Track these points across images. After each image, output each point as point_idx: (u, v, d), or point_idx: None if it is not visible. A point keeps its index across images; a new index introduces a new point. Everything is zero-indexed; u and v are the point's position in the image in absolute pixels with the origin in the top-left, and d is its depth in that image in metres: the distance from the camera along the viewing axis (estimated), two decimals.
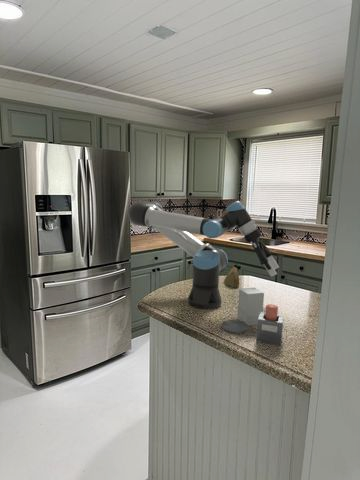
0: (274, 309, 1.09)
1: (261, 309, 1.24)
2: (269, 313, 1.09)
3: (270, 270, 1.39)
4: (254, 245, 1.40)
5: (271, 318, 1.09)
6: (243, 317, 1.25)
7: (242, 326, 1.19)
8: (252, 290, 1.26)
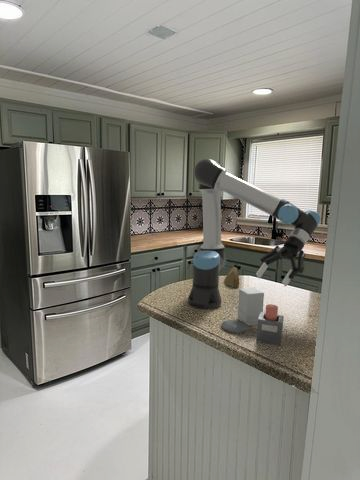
0: (274, 309, 1.09)
1: (261, 309, 1.24)
2: (269, 313, 1.09)
3: (288, 278, 1.26)
4: (303, 254, 1.30)
5: (271, 318, 1.09)
6: (243, 317, 1.25)
7: (242, 326, 1.19)
8: (252, 290, 1.26)
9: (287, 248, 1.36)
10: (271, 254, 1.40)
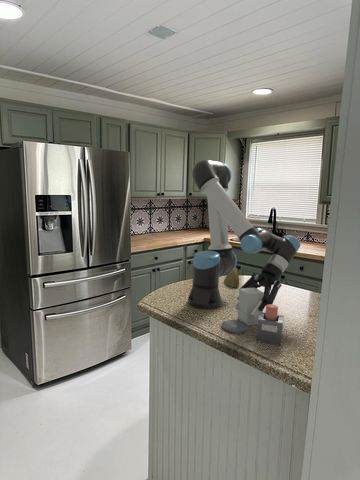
0: (274, 309, 1.09)
1: None
2: (269, 313, 1.09)
3: (257, 310, 1.22)
4: (279, 284, 1.24)
5: (271, 318, 1.09)
6: (243, 317, 1.25)
7: (242, 326, 1.19)
8: (252, 289, 1.26)
9: (265, 274, 1.30)
10: (249, 283, 1.33)
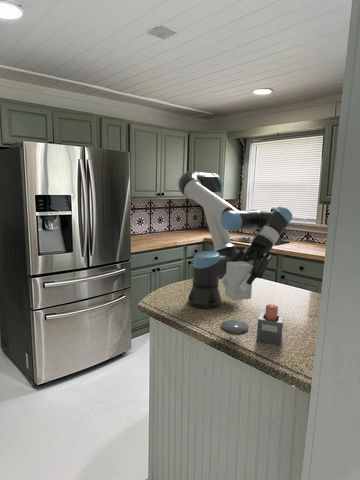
0: (274, 309, 1.09)
1: None
2: (269, 313, 1.09)
3: (245, 284, 1.13)
4: (269, 256, 1.15)
5: (271, 318, 1.09)
6: (231, 292, 1.16)
7: (242, 326, 1.19)
8: (240, 263, 1.18)
9: (254, 247, 1.22)
10: (238, 257, 1.24)
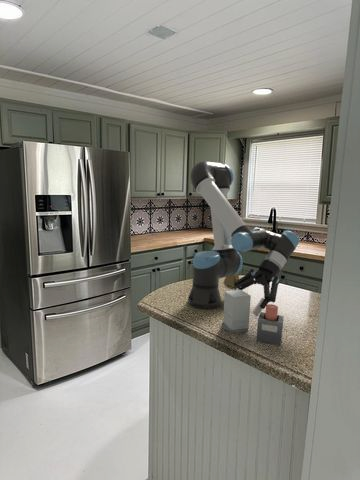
0: (274, 309, 1.09)
1: (248, 313, 1.17)
2: (269, 313, 1.09)
3: (259, 308, 1.15)
4: (277, 280, 1.18)
5: (271, 318, 1.09)
6: (228, 321, 1.18)
7: None
8: (238, 292, 1.19)
9: (262, 272, 1.25)
10: (245, 278, 1.29)
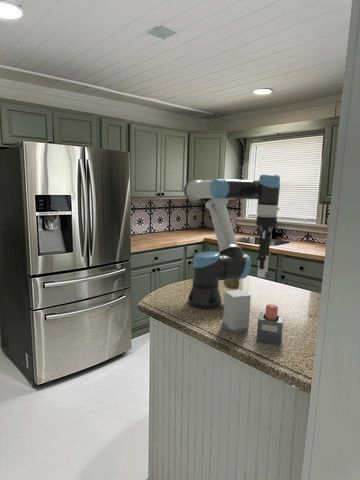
0: (274, 309, 1.09)
1: (248, 313, 1.17)
2: (269, 313, 1.09)
3: (261, 270, 1.20)
4: (262, 236, 1.16)
5: (271, 318, 1.09)
6: (228, 321, 1.18)
7: None
8: (238, 292, 1.19)
9: None
10: None
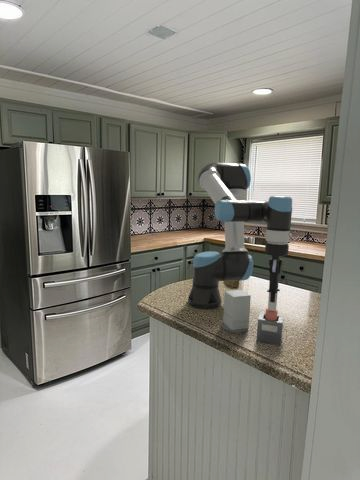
0: (274, 313, 1.09)
1: (248, 313, 1.17)
2: (269, 317, 1.09)
3: (271, 303, 1.10)
4: (273, 270, 1.03)
5: None
6: (228, 321, 1.18)
7: None
8: (238, 292, 1.19)
9: None
10: None
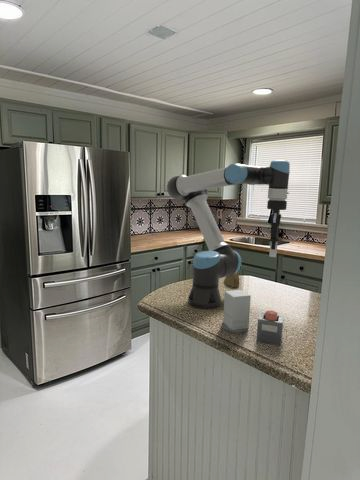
0: (273, 315, 1.09)
1: (248, 313, 1.17)
2: None
3: (272, 250, 1.33)
4: (273, 221, 1.26)
5: None
6: (228, 321, 1.18)
7: None
8: (238, 292, 1.19)
9: None
10: None
